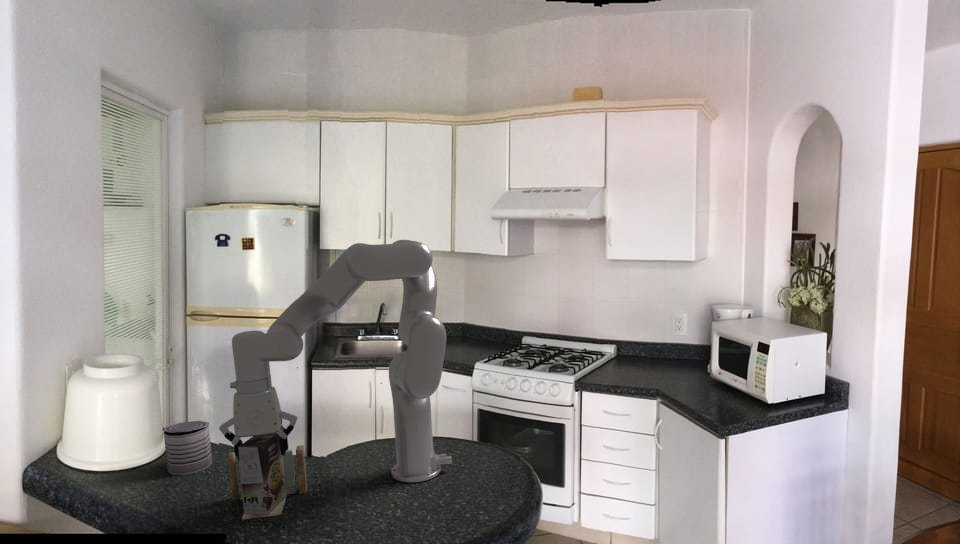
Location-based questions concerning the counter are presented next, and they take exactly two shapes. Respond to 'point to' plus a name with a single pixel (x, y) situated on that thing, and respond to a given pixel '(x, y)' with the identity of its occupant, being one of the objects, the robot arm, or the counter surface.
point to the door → (285, 469)
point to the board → (274, 512)
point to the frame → (302, 489)
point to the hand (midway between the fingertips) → (262, 456)
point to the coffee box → (262, 474)
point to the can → (187, 447)
